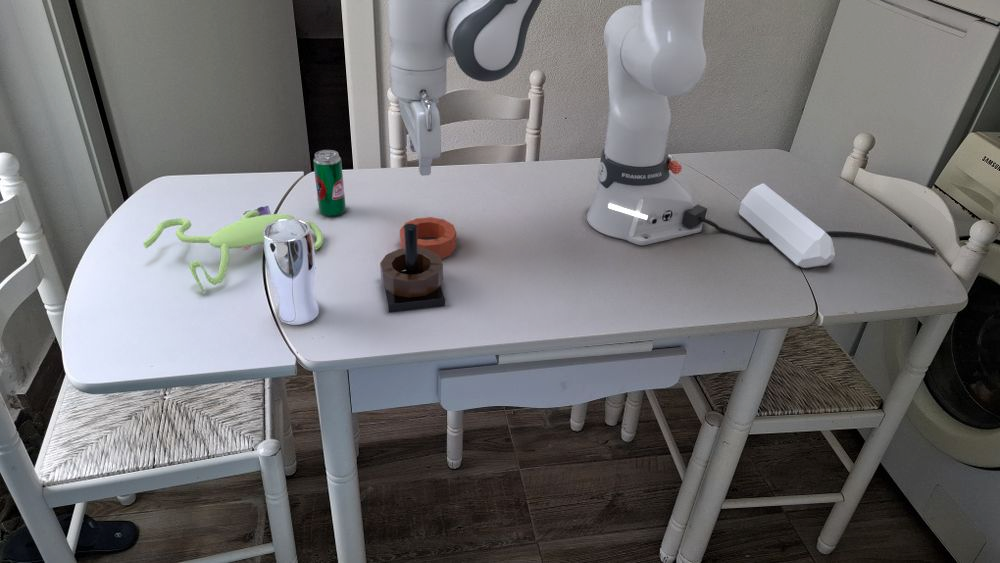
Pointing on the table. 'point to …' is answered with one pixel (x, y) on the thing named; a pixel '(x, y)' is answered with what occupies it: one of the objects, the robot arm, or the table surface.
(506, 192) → the table surface
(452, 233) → the terracotta ring
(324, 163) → the soda can
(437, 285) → the walnut ring
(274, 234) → the chrome cup
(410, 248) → the peg stand
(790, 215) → the crystal
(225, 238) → the pale green curved piece
